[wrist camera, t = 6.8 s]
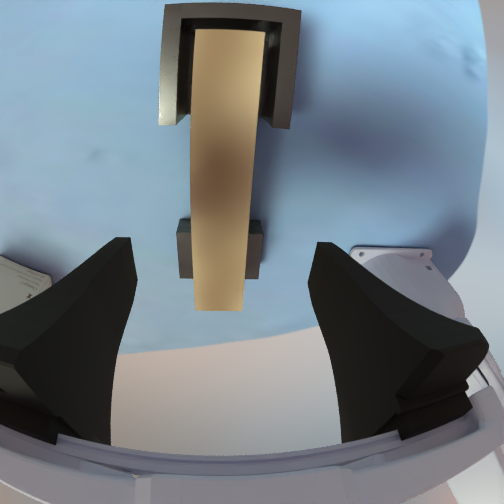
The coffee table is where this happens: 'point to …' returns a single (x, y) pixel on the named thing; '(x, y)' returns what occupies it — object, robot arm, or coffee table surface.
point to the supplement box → (19, 284)
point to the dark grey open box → (229, 18)
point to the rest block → (251, 256)
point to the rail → (222, 161)
